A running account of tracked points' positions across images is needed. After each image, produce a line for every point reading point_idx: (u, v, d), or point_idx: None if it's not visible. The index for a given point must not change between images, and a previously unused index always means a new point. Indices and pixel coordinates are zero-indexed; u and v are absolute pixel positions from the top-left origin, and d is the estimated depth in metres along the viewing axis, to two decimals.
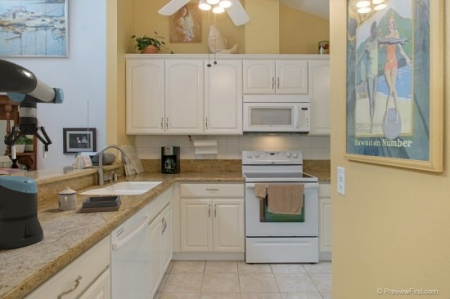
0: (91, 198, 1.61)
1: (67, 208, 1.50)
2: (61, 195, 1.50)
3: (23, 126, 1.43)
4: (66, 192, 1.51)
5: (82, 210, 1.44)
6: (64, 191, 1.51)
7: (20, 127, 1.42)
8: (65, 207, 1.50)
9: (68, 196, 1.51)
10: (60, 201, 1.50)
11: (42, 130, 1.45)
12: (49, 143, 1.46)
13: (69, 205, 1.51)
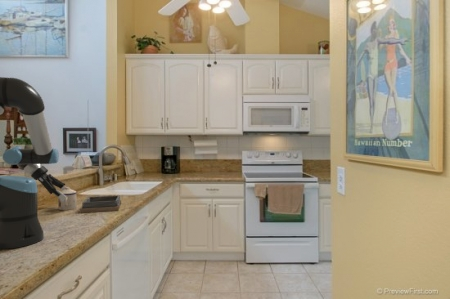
0: (91, 198, 1.61)
1: (67, 208, 1.50)
2: None
3: (44, 175, 1.48)
4: (66, 192, 1.51)
5: (82, 210, 1.44)
6: (64, 191, 1.51)
7: (44, 176, 1.47)
8: (65, 207, 1.50)
9: (68, 196, 1.51)
10: (60, 201, 1.50)
11: (52, 176, 1.57)
12: None
13: (69, 205, 1.51)
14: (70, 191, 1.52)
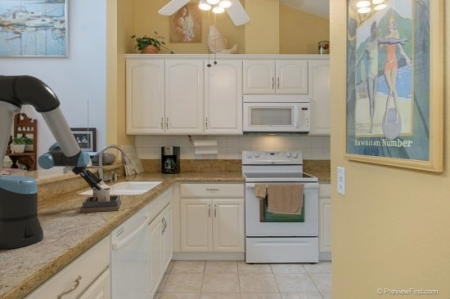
0: (91, 198, 1.61)
1: None
2: None
3: (84, 170, 1.51)
4: (103, 187, 1.55)
5: (82, 210, 1.44)
6: None
7: (84, 171, 1.50)
8: None
9: None
10: (97, 196, 1.53)
11: (90, 171, 1.60)
12: (100, 179, 1.64)
13: (106, 199, 1.55)
14: (105, 186, 1.56)
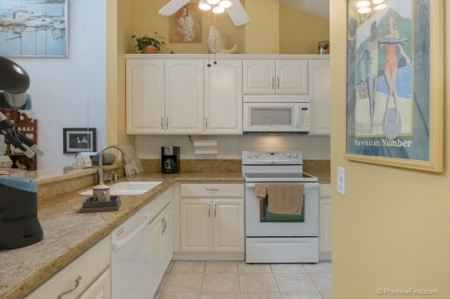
0: (91, 198, 1.61)
1: None
2: (98, 190, 1.53)
3: (9, 129, 1.31)
4: (103, 187, 1.55)
5: (82, 210, 1.44)
6: (100, 186, 1.55)
7: (9, 130, 1.30)
8: None
9: (105, 191, 1.55)
10: (97, 196, 1.53)
11: (21, 133, 1.39)
12: None
13: (106, 199, 1.55)
14: (105, 186, 1.56)
